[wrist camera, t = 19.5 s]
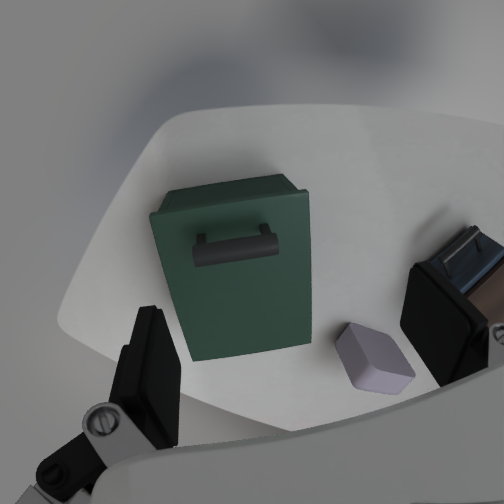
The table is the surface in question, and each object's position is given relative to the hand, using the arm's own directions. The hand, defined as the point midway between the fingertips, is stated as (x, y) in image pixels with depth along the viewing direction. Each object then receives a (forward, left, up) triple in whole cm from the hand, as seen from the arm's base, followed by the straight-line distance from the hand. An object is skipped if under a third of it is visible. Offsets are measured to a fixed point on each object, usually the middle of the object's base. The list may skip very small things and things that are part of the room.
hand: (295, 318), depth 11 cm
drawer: (+17, +30, -24) cm, 42 cm away
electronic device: (+28, +15, -25) cm, 40 cm away
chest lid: (+8, -2, -16) cm, 18 cm away
